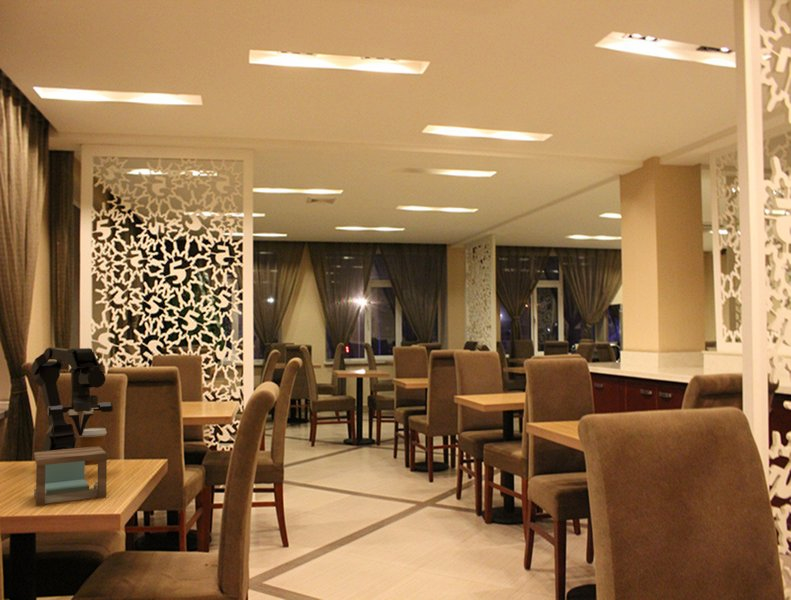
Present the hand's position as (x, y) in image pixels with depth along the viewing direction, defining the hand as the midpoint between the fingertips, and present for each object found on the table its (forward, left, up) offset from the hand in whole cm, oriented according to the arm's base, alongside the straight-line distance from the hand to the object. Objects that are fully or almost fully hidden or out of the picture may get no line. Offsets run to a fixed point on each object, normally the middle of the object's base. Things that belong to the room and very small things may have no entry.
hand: (80, 435), depth 214 cm
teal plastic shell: (+5, -18, -13) cm, 23 cm away
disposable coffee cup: (-8, +25, -13) cm, 29 cm away
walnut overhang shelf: (+11, -28, -13) cm, 33 cm away
